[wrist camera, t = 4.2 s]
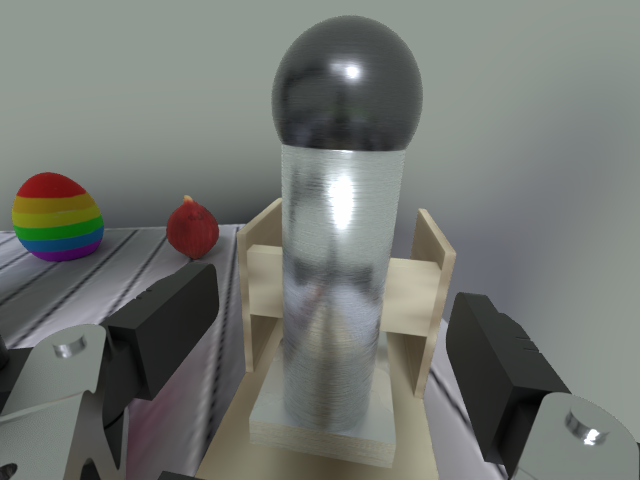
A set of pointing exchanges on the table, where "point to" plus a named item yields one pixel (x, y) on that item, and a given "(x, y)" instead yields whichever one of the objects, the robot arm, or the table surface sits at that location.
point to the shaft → (338, 238)
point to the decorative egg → (56, 218)
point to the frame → (403, 352)
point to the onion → (192, 229)
